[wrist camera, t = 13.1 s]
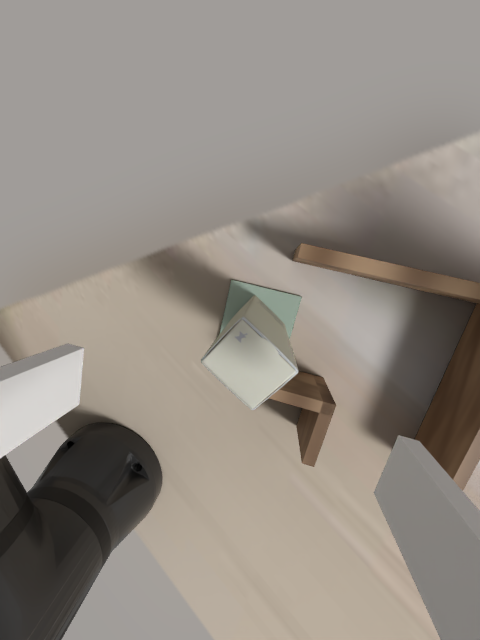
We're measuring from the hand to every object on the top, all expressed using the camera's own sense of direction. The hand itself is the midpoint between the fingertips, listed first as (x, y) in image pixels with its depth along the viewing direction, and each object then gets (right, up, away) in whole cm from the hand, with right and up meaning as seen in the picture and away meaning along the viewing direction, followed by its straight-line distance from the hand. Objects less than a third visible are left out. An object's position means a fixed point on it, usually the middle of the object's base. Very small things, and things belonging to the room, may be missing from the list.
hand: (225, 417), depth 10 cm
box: (+3, +4, +18) cm, 19 cm away
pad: (+3, +4, +18) cm, 19 cm away
